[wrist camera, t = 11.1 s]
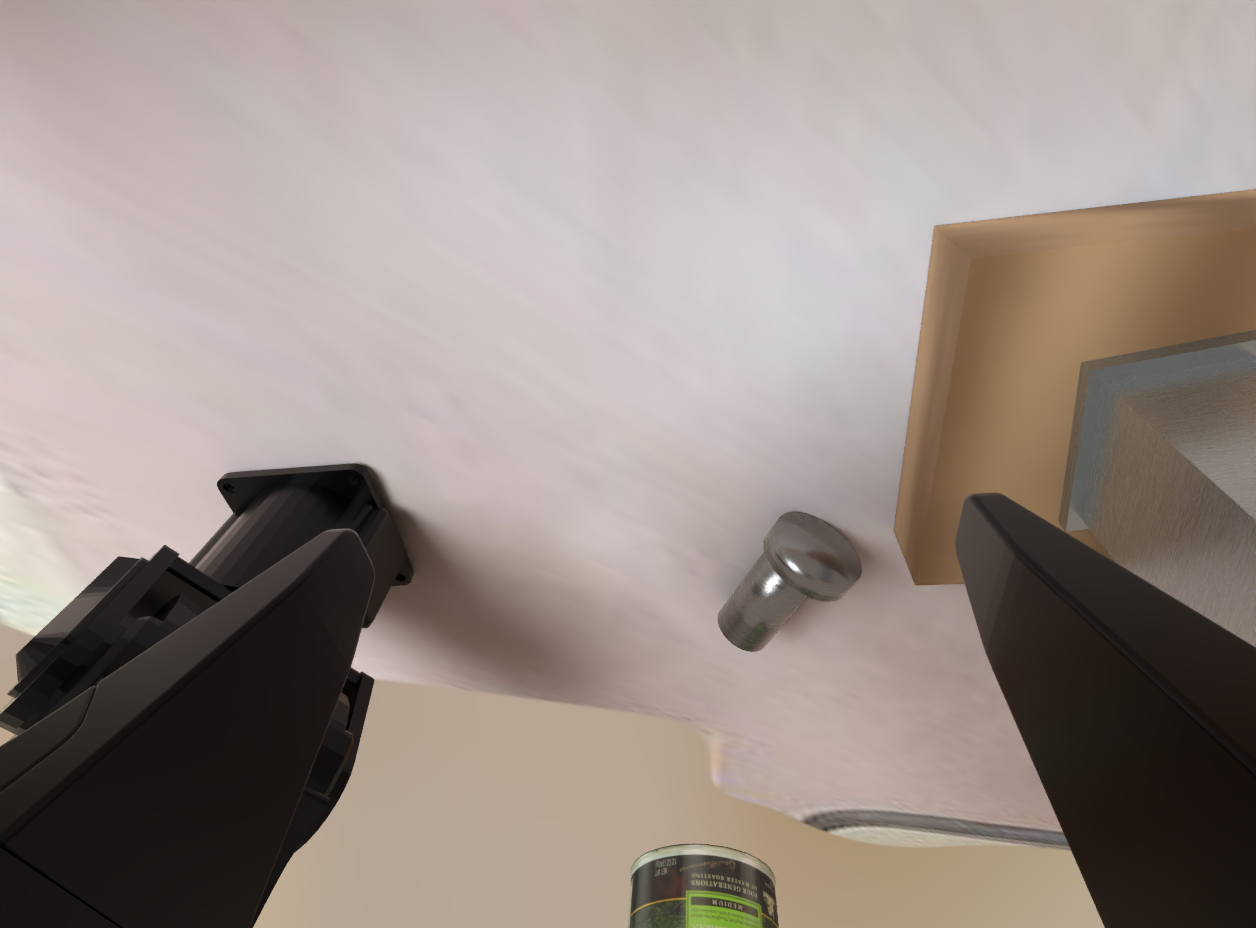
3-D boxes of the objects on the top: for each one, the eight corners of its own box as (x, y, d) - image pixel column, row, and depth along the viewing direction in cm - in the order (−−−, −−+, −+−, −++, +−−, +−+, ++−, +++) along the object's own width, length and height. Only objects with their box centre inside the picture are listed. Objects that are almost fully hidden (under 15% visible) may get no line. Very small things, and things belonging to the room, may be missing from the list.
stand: (893, 530, 26) (915, 585, 23) (934, 226, 19) (971, 258, 16) (1226, 513, 24) (1287, 570, 22) (1403, 172, 17) (1521, 199, 15)
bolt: (775, 618, 29) (785, 687, 26) (704, 594, 29) (707, 661, 26) (850, 530, 26) (871, 597, 23) (771, 500, 25) (783, 564, 22)
